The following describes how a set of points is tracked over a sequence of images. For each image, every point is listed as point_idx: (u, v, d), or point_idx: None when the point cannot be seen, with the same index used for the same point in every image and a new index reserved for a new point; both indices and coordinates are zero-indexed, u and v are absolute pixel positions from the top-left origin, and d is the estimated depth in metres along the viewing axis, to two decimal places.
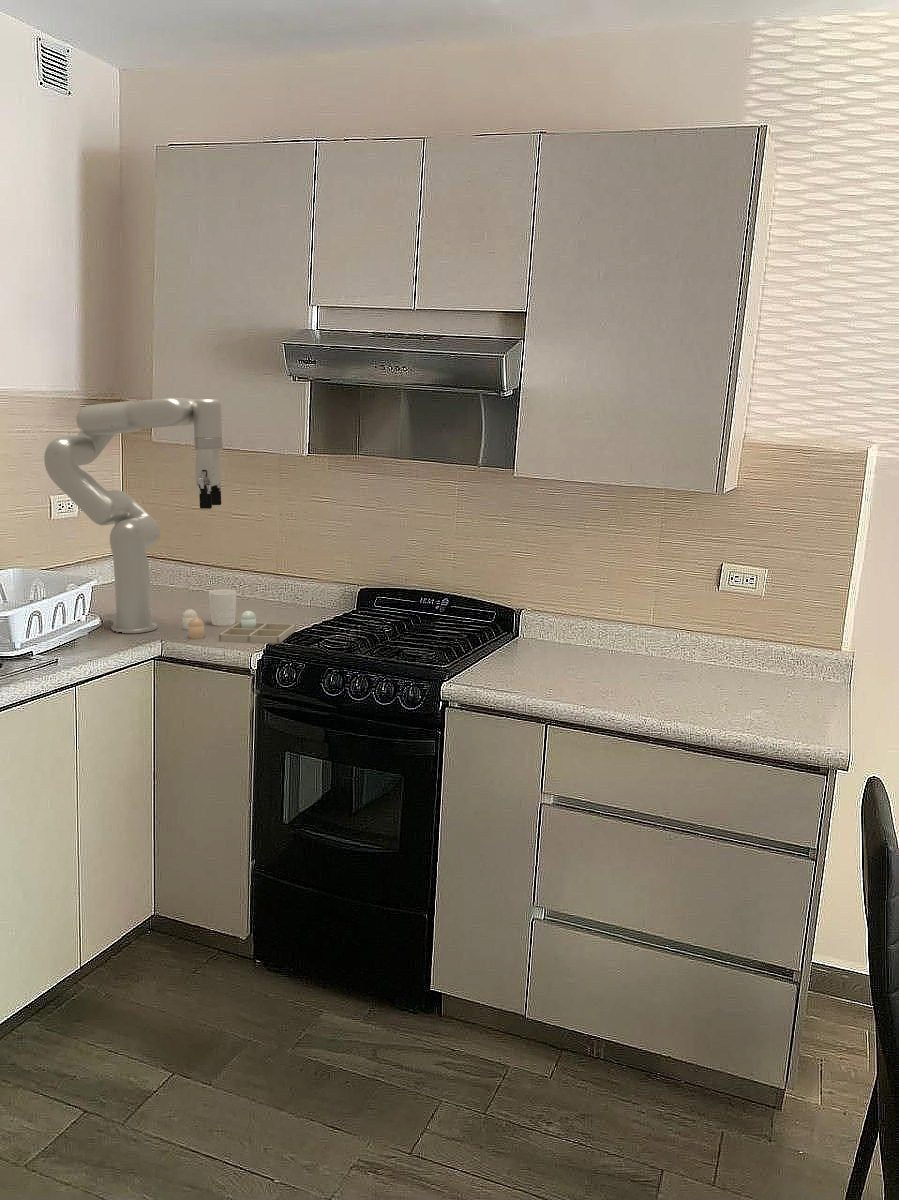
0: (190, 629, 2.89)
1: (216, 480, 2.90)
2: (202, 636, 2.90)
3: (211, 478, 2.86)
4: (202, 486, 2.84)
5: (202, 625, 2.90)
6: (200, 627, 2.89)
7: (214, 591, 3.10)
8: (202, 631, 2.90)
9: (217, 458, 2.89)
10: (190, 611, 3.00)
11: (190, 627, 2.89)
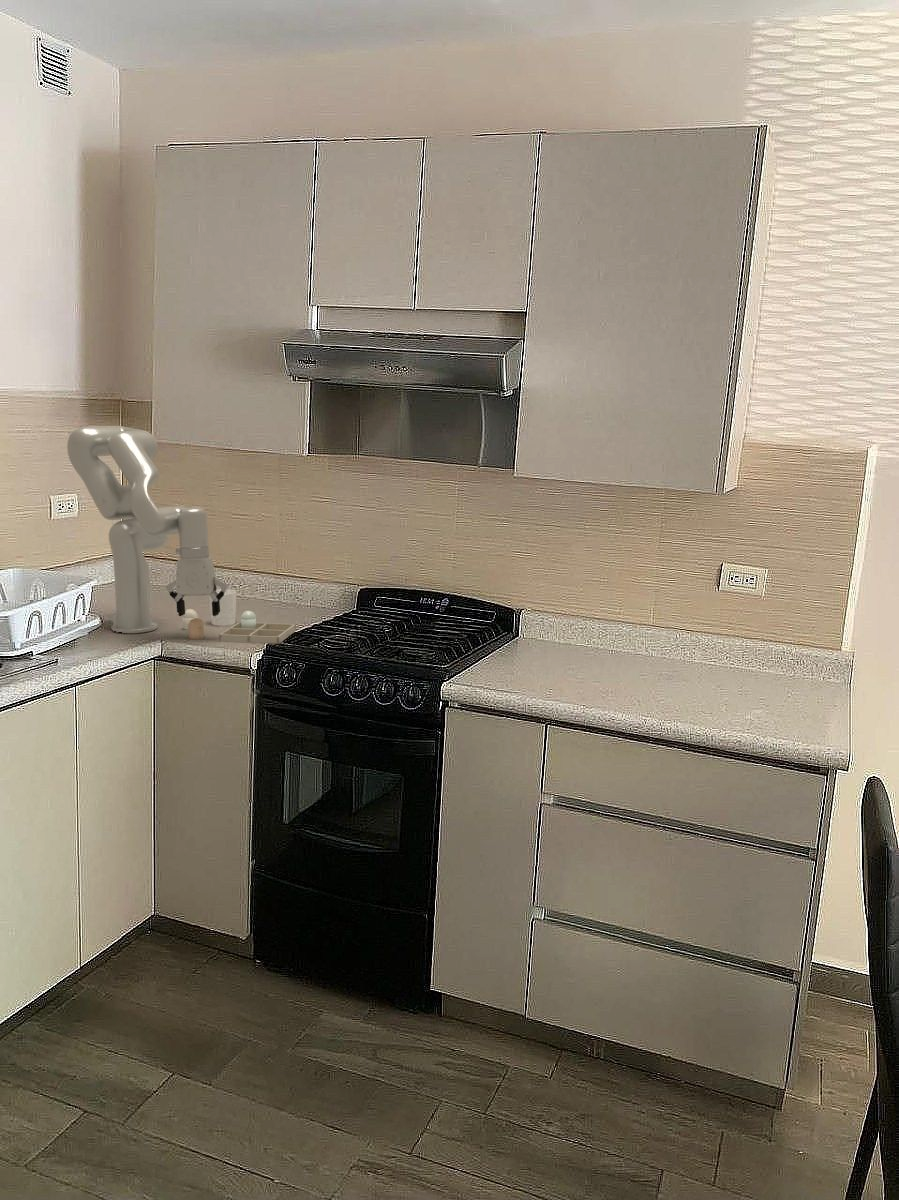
0: (190, 629, 2.89)
1: None
2: (202, 636, 2.90)
3: None
4: (224, 592, 2.87)
5: (202, 625, 2.90)
6: (200, 627, 2.89)
7: None
8: (202, 631, 2.90)
9: None
10: (190, 611, 3.00)
11: (190, 627, 2.89)
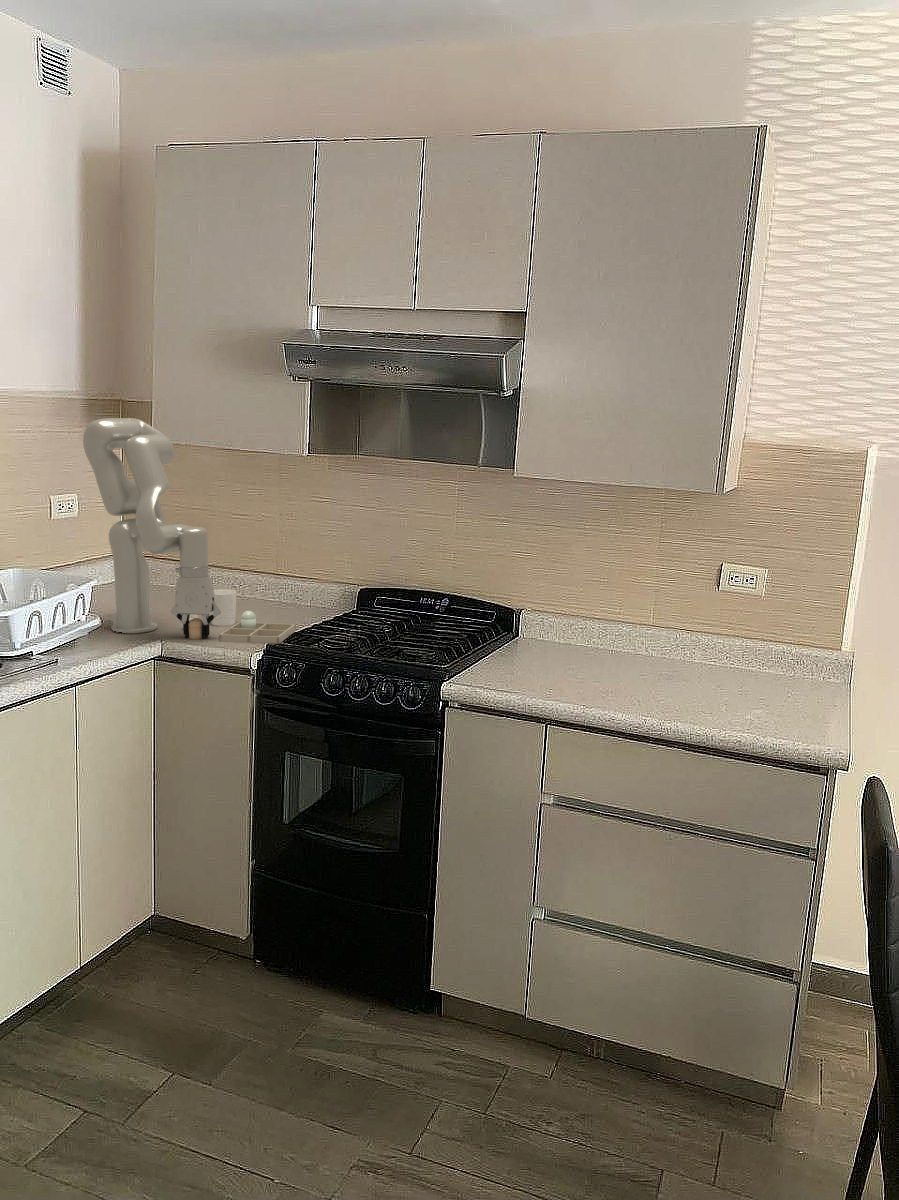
0: (190, 629, 2.89)
1: None
2: None
3: None
4: None
5: None
6: (200, 627, 2.89)
7: (214, 591, 3.10)
8: None
9: None
10: None
11: (190, 627, 2.89)
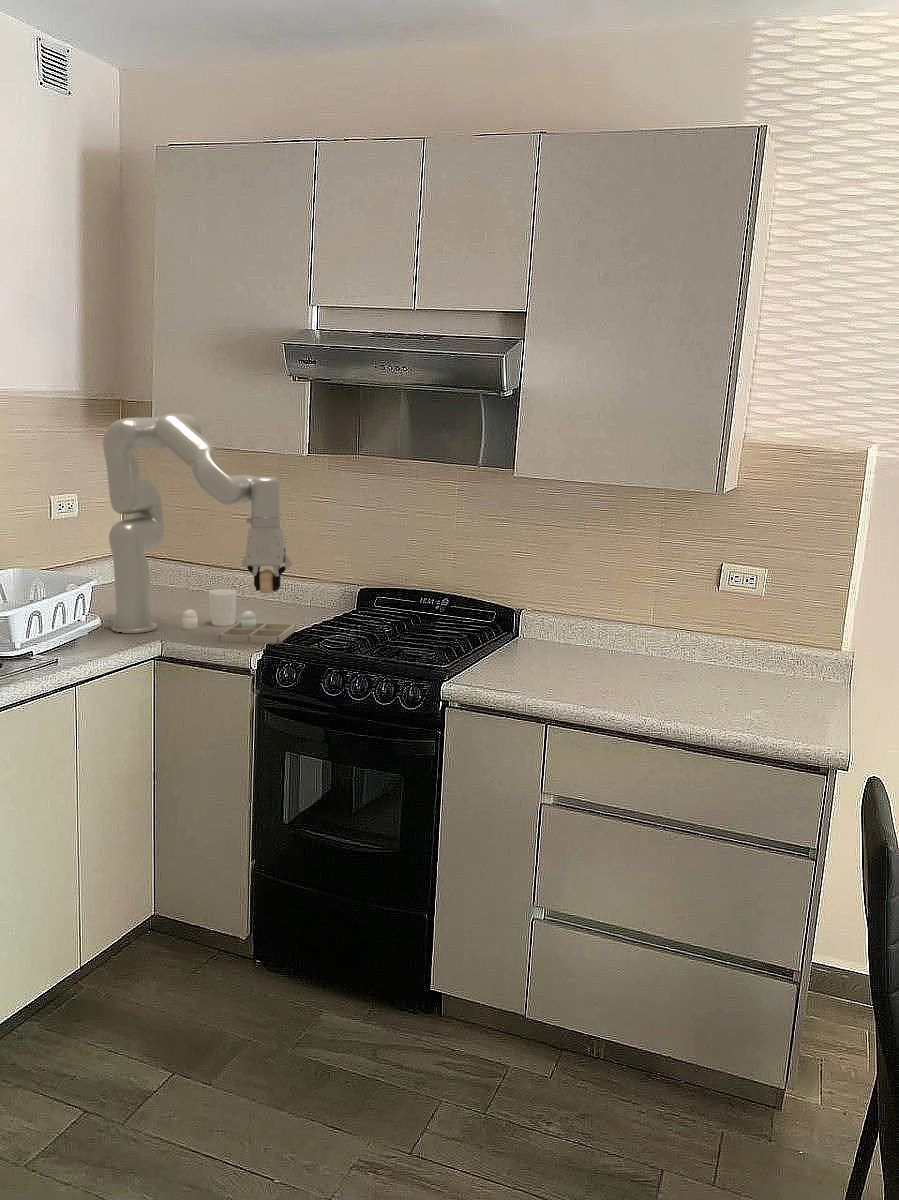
0: (261, 580, 2.85)
1: None
2: None
3: None
4: None
5: (273, 576, 2.85)
6: (271, 578, 2.85)
7: (214, 591, 3.10)
8: None
9: None
10: (190, 611, 3.00)
11: (261, 578, 2.84)
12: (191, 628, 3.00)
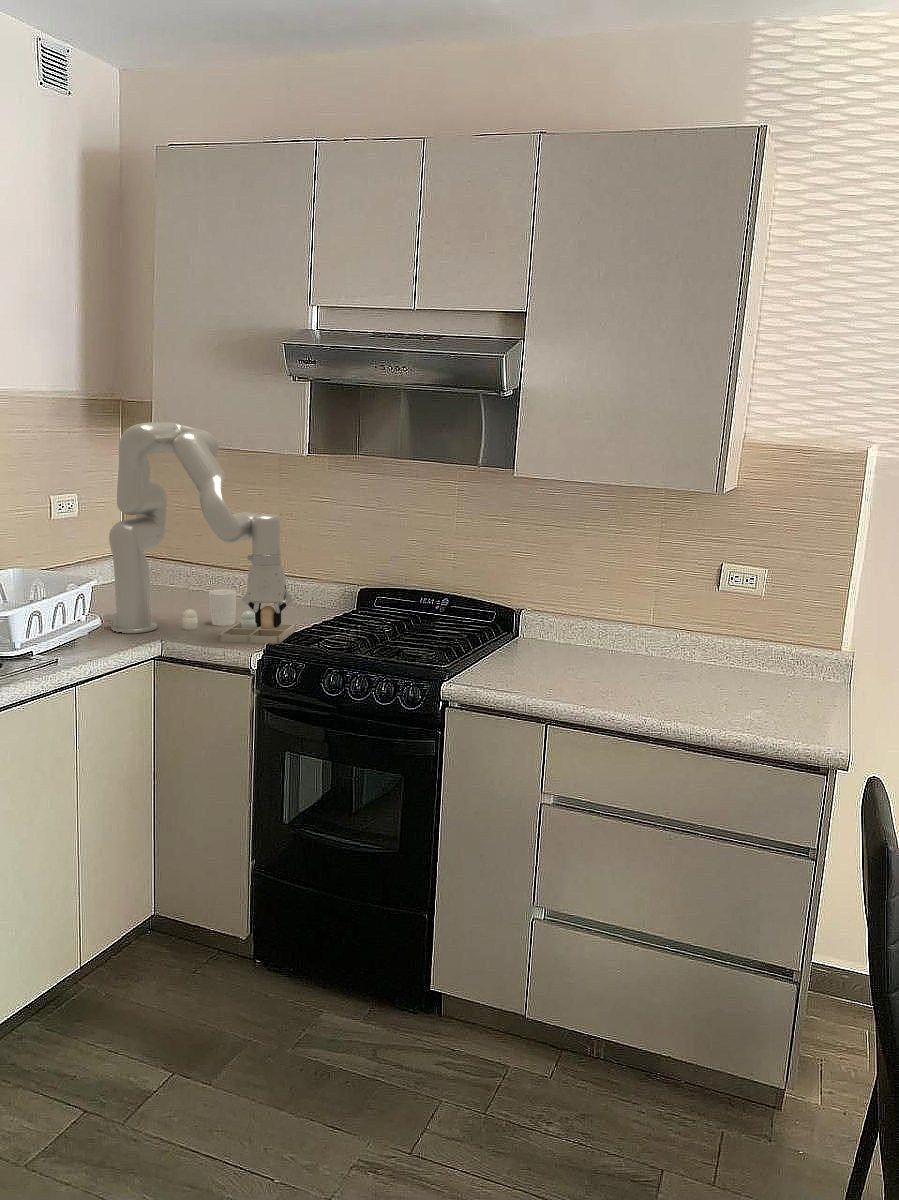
0: (262, 617, 2.86)
1: None
2: None
3: None
4: None
5: None
6: (272, 615, 2.87)
7: (214, 591, 3.10)
8: None
9: None
10: (190, 611, 3.00)
11: (262, 615, 2.86)
12: (191, 628, 3.00)
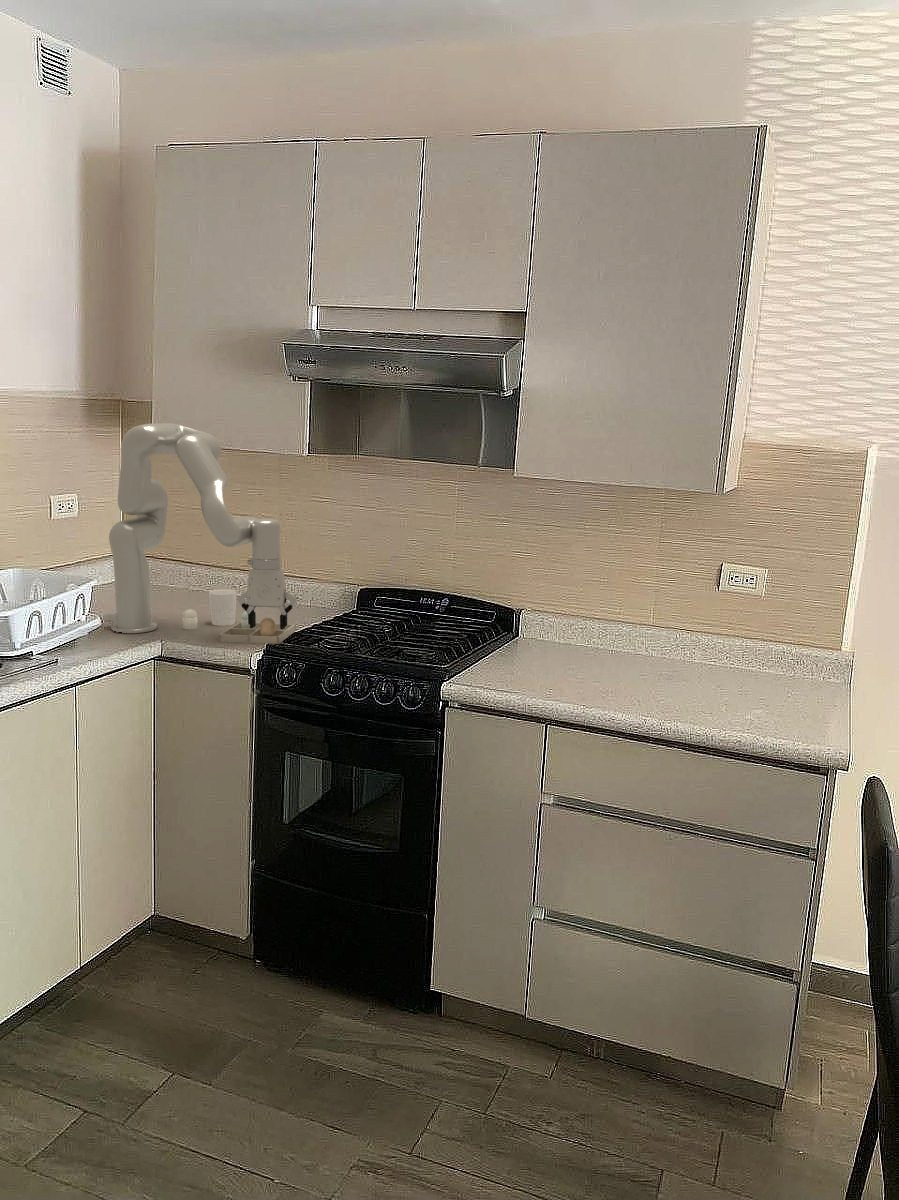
0: (262, 629, 2.87)
1: None
2: (274, 636, 2.88)
3: None
4: (293, 606, 2.87)
5: (274, 625, 2.88)
6: (272, 627, 2.87)
7: (214, 591, 3.10)
8: (274, 631, 2.88)
9: None
10: (190, 611, 3.00)
11: (262, 627, 2.87)
12: (191, 628, 3.00)
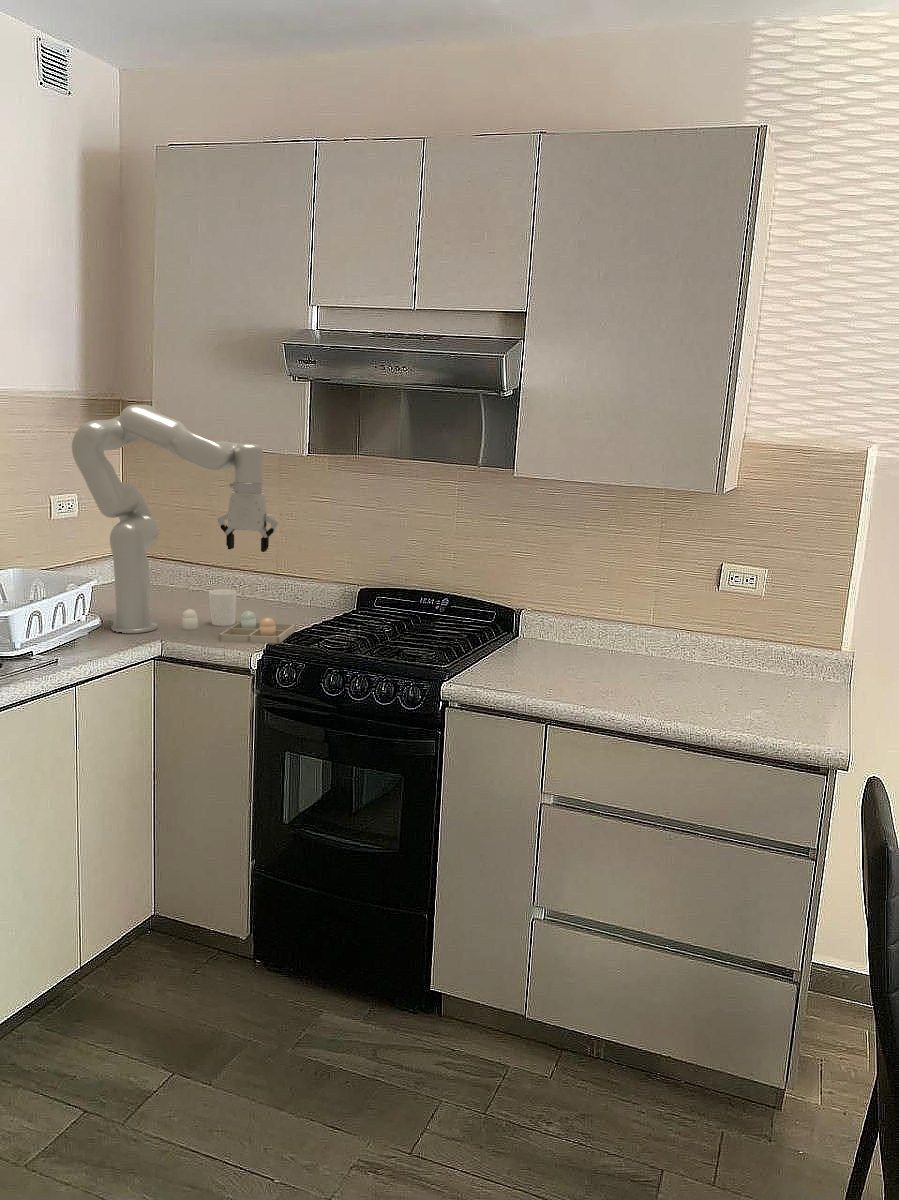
0: (262, 629, 2.87)
1: None
2: (274, 636, 2.88)
3: None
4: (274, 529, 2.92)
5: (274, 625, 2.88)
6: (272, 627, 2.87)
7: (214, 591, 3.10)
8: (274, 631, 2.88)
9: None
10: (190, 611, 3.00)
11: (262, 627, 2.87)
12: (191, 628, 3.00)
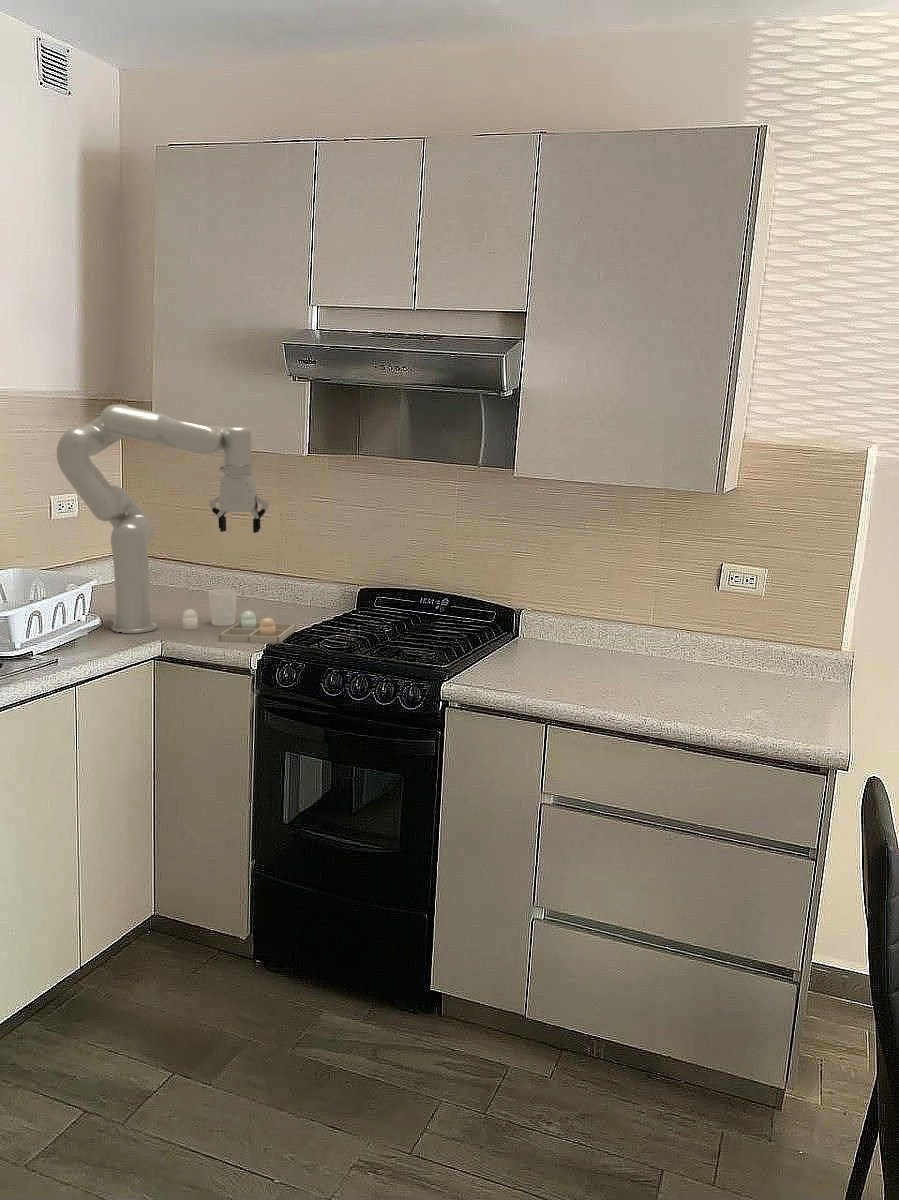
0: (262, 629, 2.87)
1: None
2: (274, 636, 2.88)
3: None
4: (265, 510, 2.97)
5: (274, 625, 2.88)
6: (272, 627, 2.87)
7: (214, 591, 3.10)
8: (274, 631, 2.88)
9: None
10: (190, 611, 3.00)
11: (262, 627, 2.87)
12: (191, 628, 3.00)
